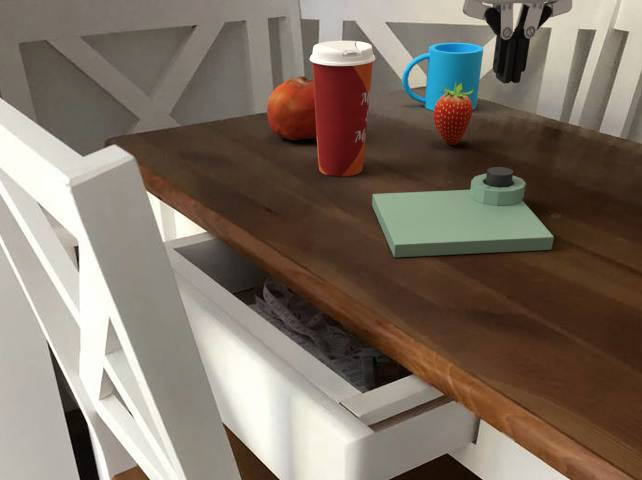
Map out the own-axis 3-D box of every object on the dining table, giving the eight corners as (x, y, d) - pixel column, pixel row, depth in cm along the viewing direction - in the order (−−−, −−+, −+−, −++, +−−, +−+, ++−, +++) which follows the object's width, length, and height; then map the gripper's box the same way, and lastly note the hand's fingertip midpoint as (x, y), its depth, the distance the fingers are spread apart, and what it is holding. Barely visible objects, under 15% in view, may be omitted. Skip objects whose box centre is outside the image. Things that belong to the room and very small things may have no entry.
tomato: (254, 138, 104) (251, 77, 99) (299, 124, 109) (298, 65, 104) (301, 152, 99) (300, 87, 94) (346, 137, 104) (347, 75, 99)
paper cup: (379, 175, 91) (386, 49, 83) (321, 182, 90) (320, 54, 81) (358, 156, 97) (362, 37, 88) (303, 162, 96) (301, 41, 87)
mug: (472, 99, 119) (478, 42, 114) (480, 112, 113) (487, 53, 108) (398, 99, 120) (401, 43, 115) (402, 113, 113) (405, 54, 108)
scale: (511, 198, 85) (516, 172, 83) (554, 249, 74) (561, 220, 72) (371, 204, 84) (372, 178, 82) (393, 257, 73) (395, 228, 71)
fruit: (472, 150, 99) (480, 85, 94) (433, 151, 98) (440, 86, 93) (464, 138, 103) (471, 76, 98) (427, 139, 103) (432, 76, 98)
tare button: (506, 180, 82) (508, 166, 81) (514, 189, 80) (516, 174, 79) (482, 181, 82) (484, 167, 81) (489, 190, 80) (491, 175, 79)
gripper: (602, -149, 68) (563, 69, 80) (445, -145, 67) (428, 75, 79) (639, -150, 62) (591, 85, 74) (467, -145, 61) (446, 92, 73)
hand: (507, 79), depth 76 cm, fingers closed
